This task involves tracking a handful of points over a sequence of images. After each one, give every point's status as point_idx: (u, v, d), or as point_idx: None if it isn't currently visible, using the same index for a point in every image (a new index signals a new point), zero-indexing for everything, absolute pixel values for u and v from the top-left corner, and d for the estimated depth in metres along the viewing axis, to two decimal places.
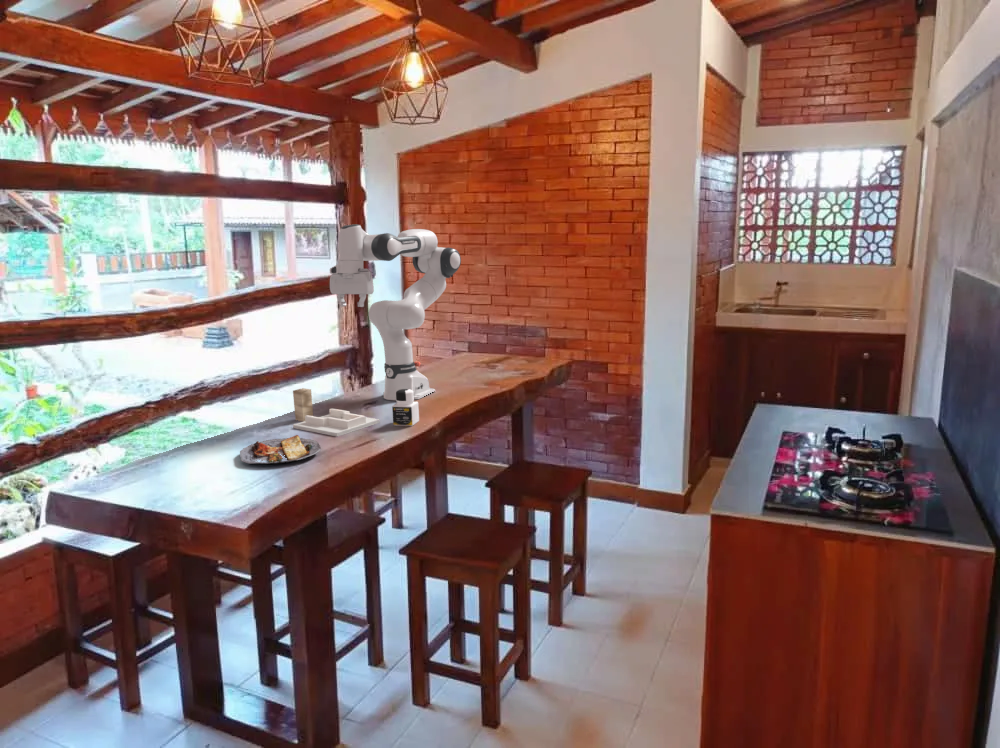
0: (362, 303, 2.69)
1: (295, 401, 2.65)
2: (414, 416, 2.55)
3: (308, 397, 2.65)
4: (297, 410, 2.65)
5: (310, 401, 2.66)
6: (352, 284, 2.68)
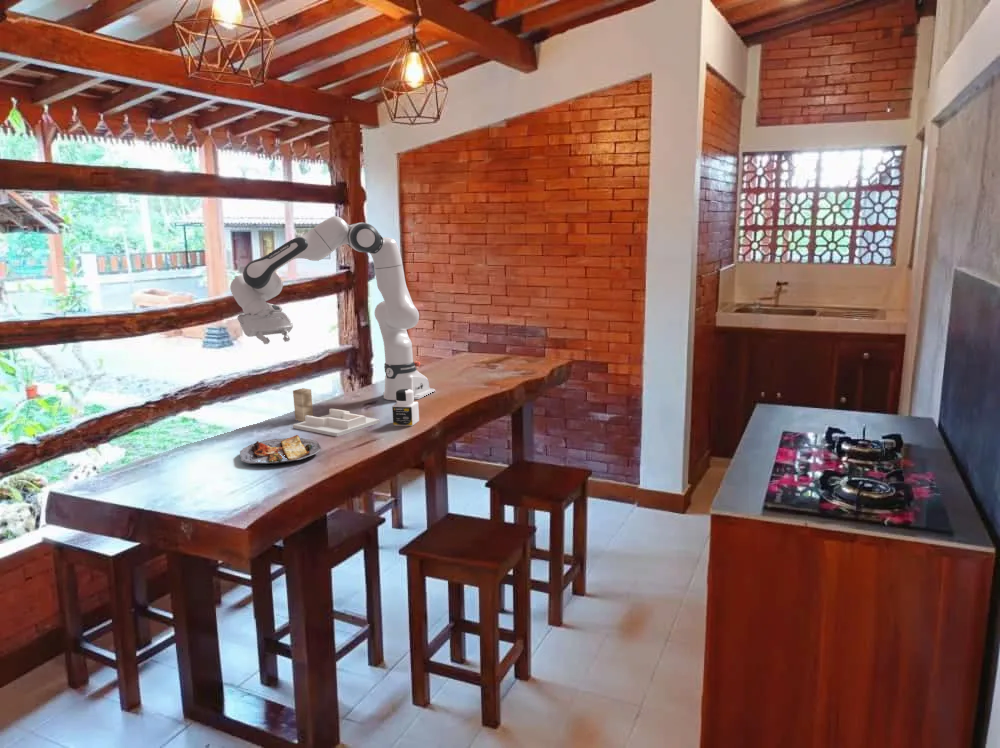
0: (264, 340, 2.64)
1: (295, 401, 2.65)
2: (414, 416, 2.55)
3: (308, 397, 2.65)
4: (297, 410, 2.65)
5: (310, 401, 2.66)
6: None
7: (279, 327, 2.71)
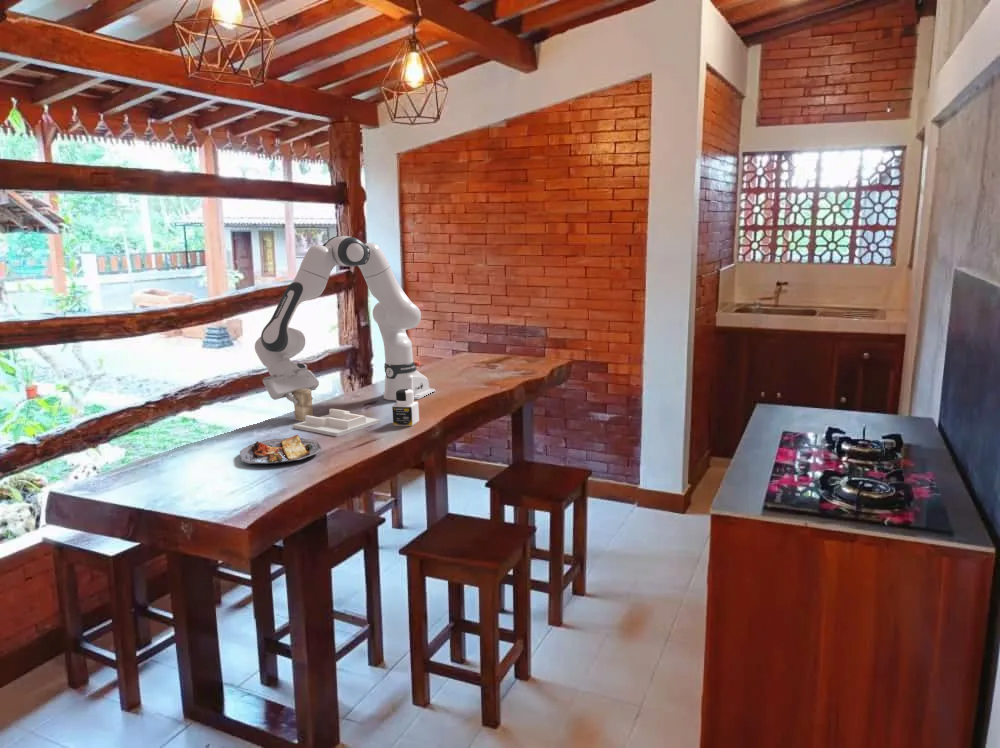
0: (294, 401, 2.63)
1: None
2: (414, 416, 2.55)
3: (308, 397, 2.65)
4: (297, 410, 2.65)
5: (310, 401, 2.66)
6: None
7: (305, 386, 2.69)
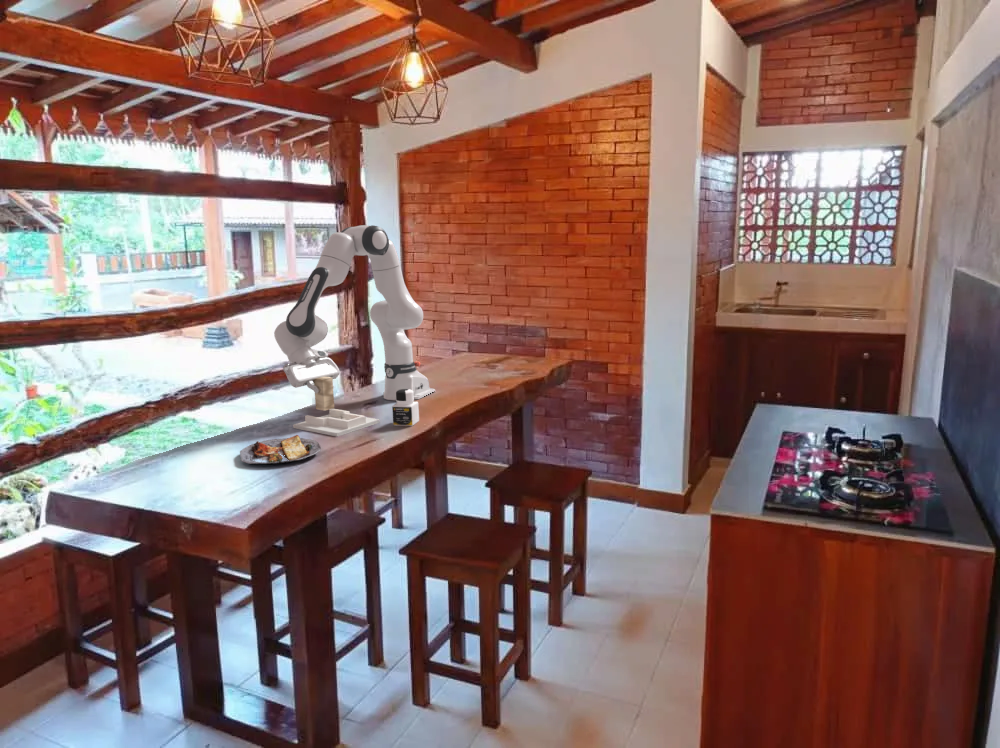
0: (315, 389, 2.55)
1: None
2: (414, 416, 2.55)
3: (329, 385, 2.57)
4: (318, 399, 2.57)
5: (331, 389, 2.58)
6: None
7: (326, 375, 2.61)
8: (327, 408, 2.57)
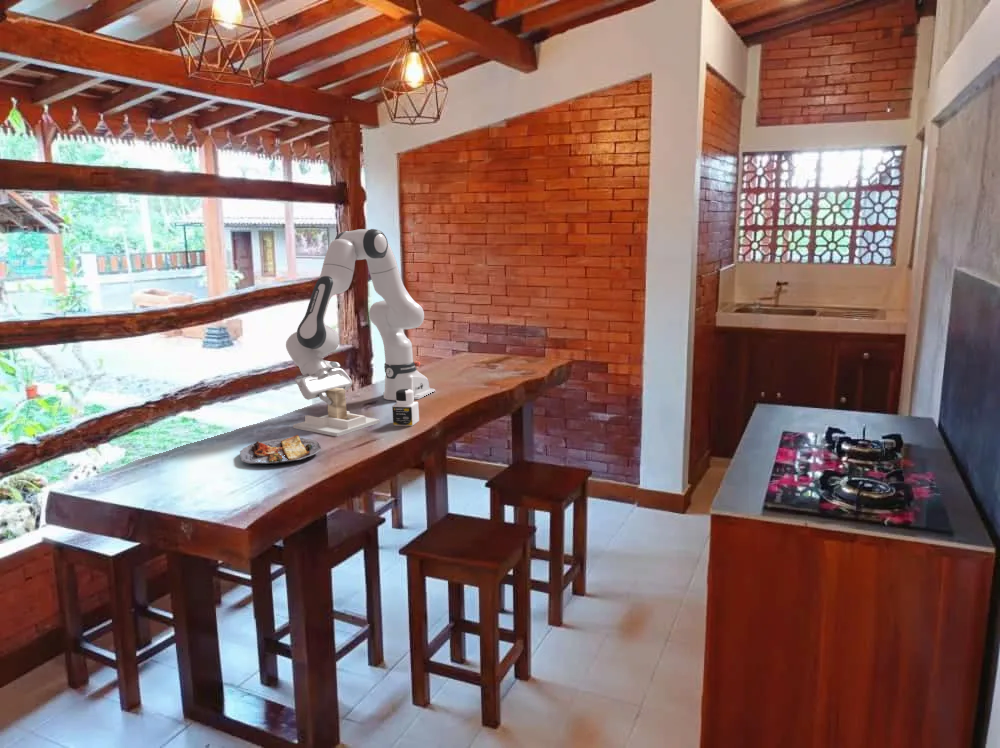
0: (328, 401, 2.53)
1: None
2: (414, 416, 2.55)
3: (342, 396, 2.55)
4: (330, 410, 2.55)
5: (344, 401, 2.56)
6: None
7: (338, 386, 2.58)
8: None
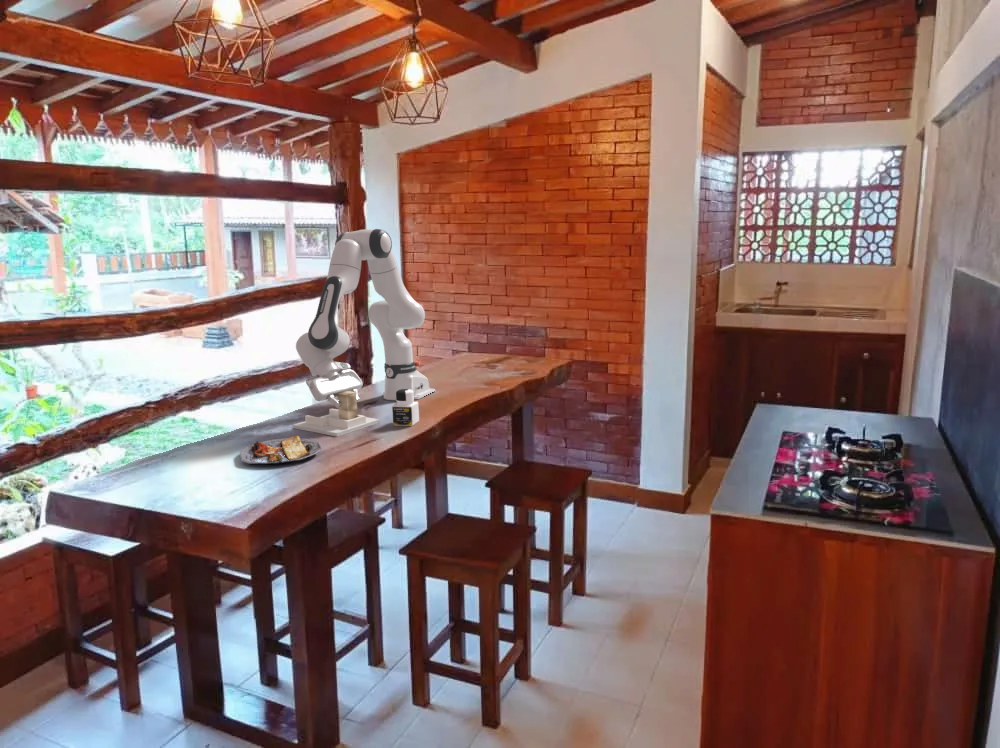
0: (336, 403, 2.49)
1: None
2: (414, 416, 2.55)
3: (353, 400, 2.52)
4: (341, 414, 2.52)
5: (355, 404, 2.53)
6: None
7: (349, 387, 2.55)
8: None
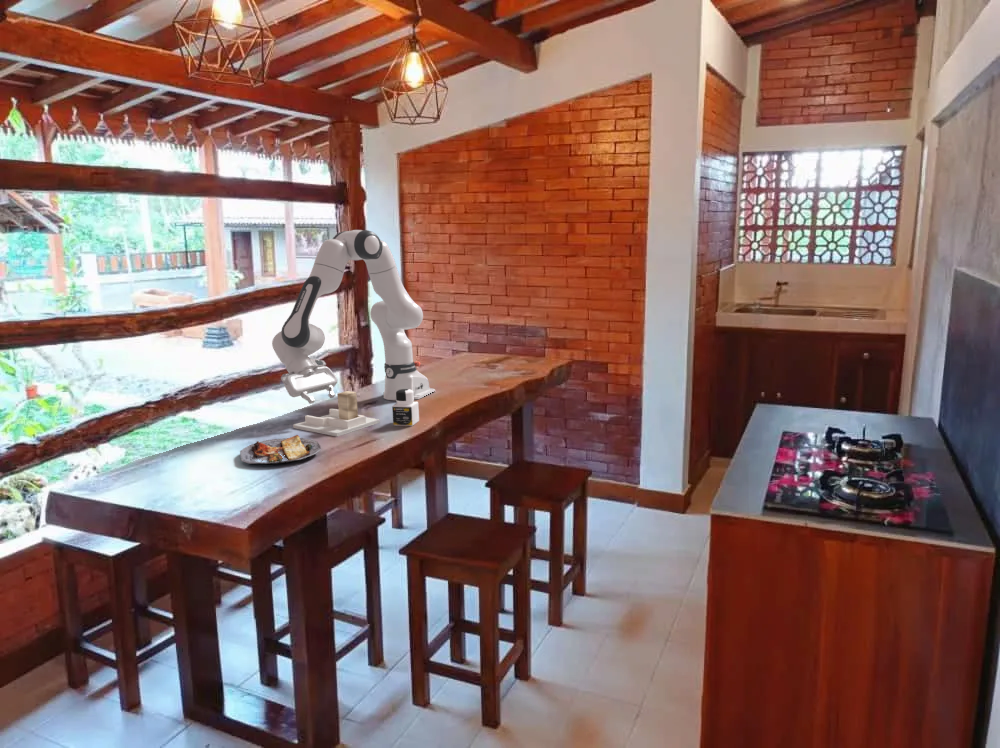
0: (309, 399, 2.55)
1: (340, 405, 2.52)
2: (414, 416, 2.55)
3: (353, 400, 2.52)
4: (342, 414, 2.52)
5: (355, 405, 2.53)
6: None
7: (324, 384, 2.62)
8: None
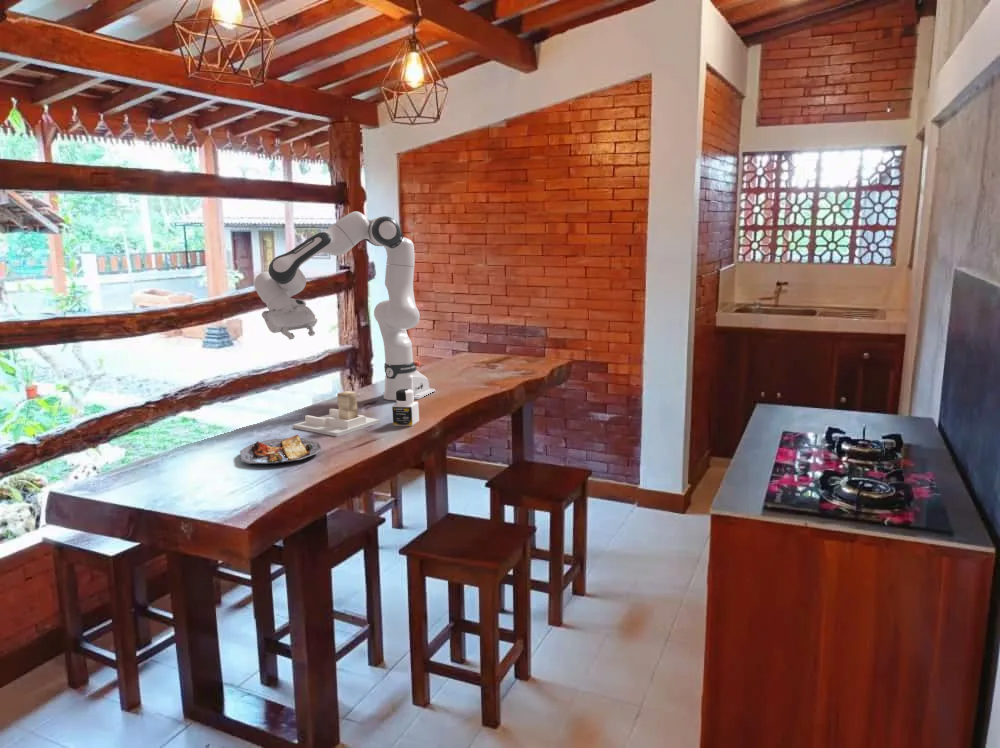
0: (289, 335, 2.65)
1: (340, 405, 2.52)
2: (414, 416, 2.55)
3: (353, 400, 2.52)
4: (342, 414, 2.52)
5: (355, 404, 2.53)
6: None
7: (303, 322, 2.72)
8: None
